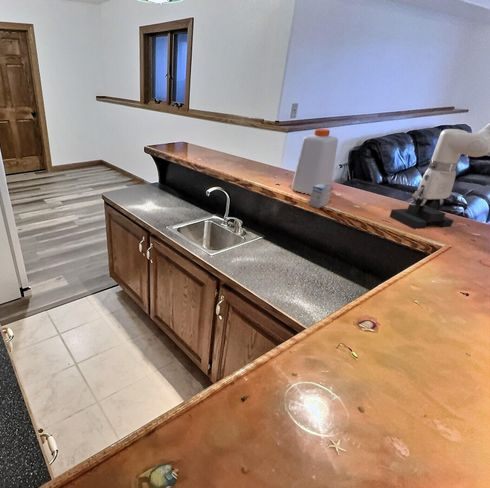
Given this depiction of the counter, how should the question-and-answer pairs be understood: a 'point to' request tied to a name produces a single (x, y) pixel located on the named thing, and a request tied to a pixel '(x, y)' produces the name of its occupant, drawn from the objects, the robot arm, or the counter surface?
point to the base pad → (416, 219)
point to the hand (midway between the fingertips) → (424, 213)
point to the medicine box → (320, 195)
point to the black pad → (428, 213)
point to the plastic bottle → (315, 161)
